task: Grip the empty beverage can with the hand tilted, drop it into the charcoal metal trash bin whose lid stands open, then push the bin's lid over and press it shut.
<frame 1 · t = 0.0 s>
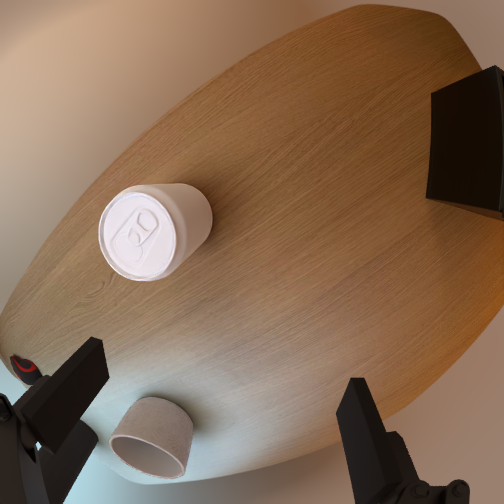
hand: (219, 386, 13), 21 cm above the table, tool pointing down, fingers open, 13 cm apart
beverage can: (180, 217, 32), on the table
vase: (81, 428, 46), on the table
trash bin: (464, 156, 27), on the table
computer mouse: (28, 368, 42), on the table
planter: (164, 413, 40), on the table
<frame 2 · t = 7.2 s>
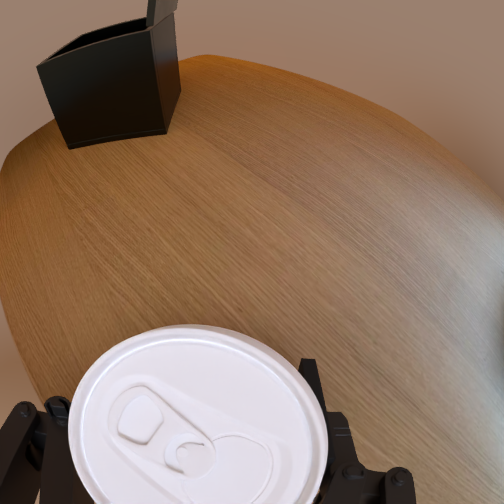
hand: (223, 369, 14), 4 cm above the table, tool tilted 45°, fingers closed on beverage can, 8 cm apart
beverage can: (219, 421, 16), on the table, touching gripper
trash bin: (126, 115, 33), on the table
when the fingers open (16 cm above the table, at t = 19.5 s): beverage can drops 11 cm, resting on trash bin.
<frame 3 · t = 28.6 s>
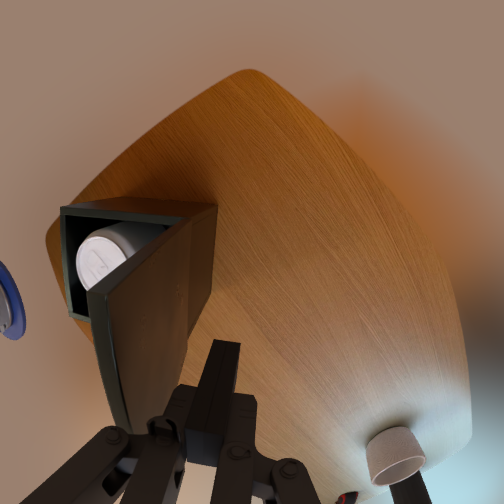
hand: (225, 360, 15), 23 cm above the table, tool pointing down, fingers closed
beverage can: (147, 244, 37), point 1 cm above the table, touching trash bin
vase: (403, 474, 52), on the table
trash bin: (163, 244, 38), on the table
computer mouse: (346, 497, 55), on the table
bin lid: (162, 336, 16), point 22 cm above the table, hinge at 95.6°, touching gripper
planter: (386, 437, 46), on the table
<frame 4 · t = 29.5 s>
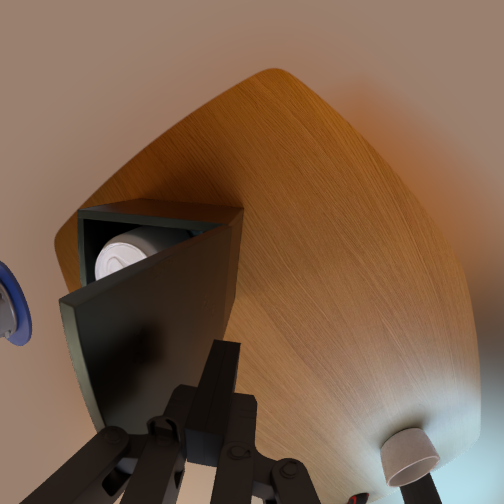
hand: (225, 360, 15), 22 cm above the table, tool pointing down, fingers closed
beverage can: (167, 248, 36), point 1 cm above the table, touching trash bin
vase: (412, 474, 50), on the table
trash bin: (185, 249, 36), on the table
computer mouse: (356, 499, 54), on the table
bin lid: (180, 350, 15), point 22 cm above the table, hinge at 80.9°, touching gripper
planter: (400, 439, 45), on the table
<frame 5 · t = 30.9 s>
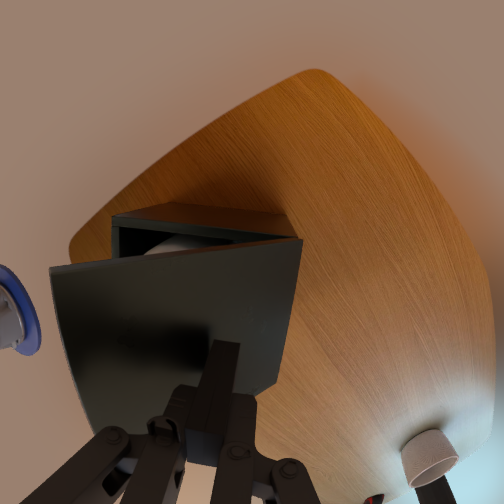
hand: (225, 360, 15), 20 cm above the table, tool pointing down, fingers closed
beverage can: (201, 257, 34), point 1 cm above the table, touching trash bin
vase: (426, 475, 49), on the table
trash bin: (221, 257, 35), on the table
computer mouse: (372, 500, 52), on the table
bin lid: (203, 354, 15), point 20 cm above the table, hinge at 49.2°, touching gripper
planter: (419, 440, 43), on the table
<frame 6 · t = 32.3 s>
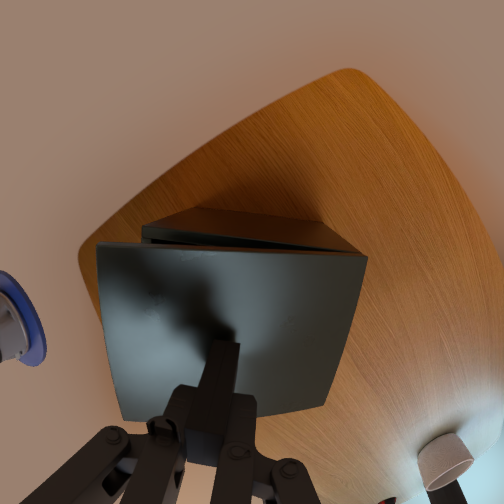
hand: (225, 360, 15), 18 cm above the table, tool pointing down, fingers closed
vase: (438, 477, 46), on the table
trash bin: (251, 268, 32), on the table
computer mouse: (384, 503, 49), on the table
bin lid: (235, 351, 16), point 17 cm above the table, hinge at 18.5°, touching gripper
planter: (435, 444, 41), on the table
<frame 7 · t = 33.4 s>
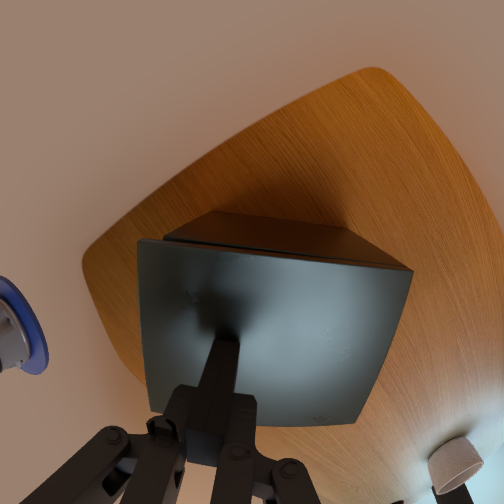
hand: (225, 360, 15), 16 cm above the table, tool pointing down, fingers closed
vase: (445, 480, 44), on the table
trash bin: (272, 276, 30), on the table
bin lid: (269, 357, 16), point 15 cm above the table, hinge at 3.8°
planter: (445, 448, 38), on the table
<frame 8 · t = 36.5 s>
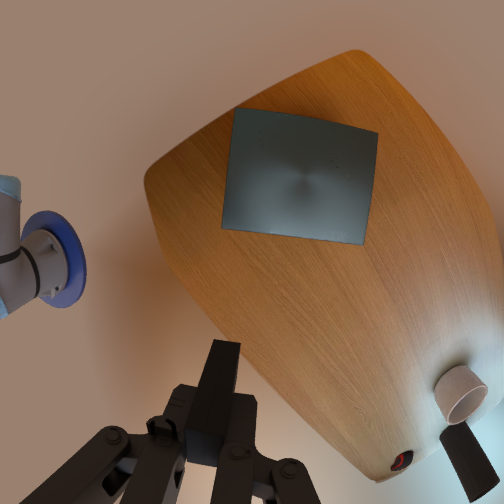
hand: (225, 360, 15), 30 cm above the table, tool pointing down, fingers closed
vase: (452, 429, 55), on the table
computer mouse: (401, 459, 59), on the table
bin lid: (303, 176, 27), point 15 cm above the table, hinge at 3.5°
planter: (449, 379, 50), on the table
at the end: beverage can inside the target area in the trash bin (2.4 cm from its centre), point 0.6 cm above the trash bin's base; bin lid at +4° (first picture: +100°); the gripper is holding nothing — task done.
